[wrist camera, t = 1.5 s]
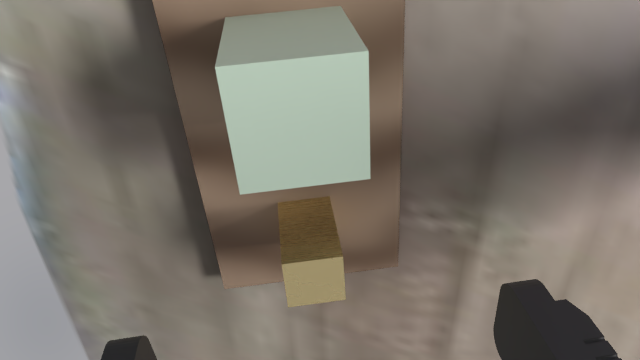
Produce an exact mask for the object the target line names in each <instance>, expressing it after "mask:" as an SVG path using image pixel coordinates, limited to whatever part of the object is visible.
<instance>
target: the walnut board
mask: <svg viewBox="0 0 640 360" xmlns="http://www.w3.org/2000/svg"><path fill="white" fill-rule="evenodd" d="M152 2H153V6H154V10H155V14H156V18H157V22H158V26H159V30H160V34H161V38H162V42H163V46H164V50H165V54H166V58H167V61H168V65H169V69H170V73H171V77H172V81H173V85H174V89H175V93H176V97H177V101H178V105H179V109H180V113H181V117H182V121H183V125H184V129H185V133H186V137H187V141H188V145H189V149H190V153H191V157H192V161H193V165H194V169H195V173H196V177H197V181H198V185H199V189H200V193H201V197H202V201H203V205H204V209H205V213H206V217H207V221H208V225H209V229H210V233H211V237H212V241H213V245H214V249H215V253H216V257H217V261H218V265H219V269H220V273H221V277H222V281H223V284H224V288H225V289H229V288H236V287H244V286H252V285H259V284H267V283H274V282H282V281H284V277H283V271H282V264H281V248H280V232H279V217H278V203H279V202H287V201H295V200H303V199H312V198H320V197H328V196H330V200H331V205H332V209H333V214H334V218H335V223H336V227H337V232H338V236H339V240H340V245H341V249H342V254H343V263H344V273H351V272H358V271H366V270H374V269H381V268H389V267H397V266H398V249H399V210H400V172H401V134H402V95H403V57H404V18H405V0H152ZM334 6H341V7H342V9H343V11H344V12H345V14H346V15H347V17H348V19H349V20H350V22H351V23H352V25H353V27H354V28H355V30H356V31H357V33H358V35H359V36H360V38H361V39H362V41H363V43H364V44H365V46H366V47H367V49H368V51H369V110H370V178H371V179H366V180H358V181H349V182H341V183H333V184H325V185H316V186H308V187H300V188H291V189H283V190H275V191H266V192H258V193H250V194H241V195H240V192H239V187H238V182H237V177H236V172H235V167H234V162H233V157H232V152H231V147H230V142H229V137H228V131H227V126H226V121H225V116H224V111H223V106H222V101H221V96H220V91H219V86H218V81H217V76H216V70H215V64H216V59H217V55H218V50H219V45H220V40H221V36H222V31H223V26H224V22H225V17H234V16H244V15H254V14H264V13H274V12H284V11H294V10H304V9H314V8H324V7H334Z"/></svg>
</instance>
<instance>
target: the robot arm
mask: <svg viewBox="0 0 640 360" xmlns="http://www.w3.org/2000/svg"><path fill="white" fill-rule="evenodd" d="M494 339H495V344H496V347H497V350H498V353H499V355H500V357H501V359H502V360H622V359H621V358H618V356H617V353H616V352H615V350H614V349H613V348H612V346H611V345H610V344H609V342H608V341H605V339H604V336H603V334H602V333H601V332H600V330H599V329H598V328H597V327H596V325H595V324H594V323H593V321H592V320H591V319H590V317H589V316H588V315H587V314H585V313H584V312H582V311H581V310H580V309H578V308H577V307H576V306H574V305H573V304H572V303H570V302H569V301H567V300H566V299H564V300H558V301H555V300H554V299H553V297H552V296H551V295H550V293H549V292H548V290H547V289H546V288H545V286H544V285H543V284H542V283H541V282H540V281H539V280H537V279H533V280H526V281H519V282H513V283H506V284H503V285H502V286H501V289H500V294H499V300H498V305H497V311H496V317H495V322H494ZM101 360H157V358H156V356H155V354H154V351H153V349H152V346H151V344H150V342H149V340H148V338H147V337H146V336H138V337H131V338H124V339H117V340H111V341H109V342H108V343H107V344H106V346H105V349H104V352H103V355H102V358H101Z"/></svg>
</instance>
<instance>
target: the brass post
mask: <svg viewBox="0 0 640 360" xmlns="http://www.w3.org/2000/svg"><path fill="white" fill-rule="evenodd" d="M278 217H279V232H280V248H281V264H282V271H283V277H284V284H285V290H286V297H287V303H288V307H295V306H302V305H310V304H317V303H324V302H332V301H339V300H346V298H345V280H344V263H343V254H342V249H341V245H340V240H339V236H338V232H337V227H336V223H335V218H334V214H333V209H332V205H331V200H330V196H328V197H320V198H312V199H303V200H295V201H287V202H279V203H278Z"/></svg>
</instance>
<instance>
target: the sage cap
mask: <svg viewBox="0 0 640 360" xmlns="http://www.w3.org/2000/svg"><path fill="white" fill-rule="evenodd" d="M215 70H216V76H217V81H218V86H219V91H220V96H221V101H222V106H223V111H224V116H225V121H226V126H227V131H228V137H229V142H230V147H231V152H232V157H233V162H234V167H235V172H236V177H237V182H238V187H239V192H240V195H241V194H250V193H258V192H266V191H275V190H283V189H291V188H300V187H308V186H316V185H325V184H333V183H341V182H349V181H358V180H366V179H371V178H370V110H369V51H368V49H367V47H366V46H365V44H364V43H363V41H362V39H361V38H360V36H359V35H358V33H357V31H356V30H355V28H354V27H353V25H352V23H351V22H350V20H349V19H348V17H347V15H346V14H345V12H344V11H343V9H342V7H341V6H334V7H324V8H314V9H304V10H294V11H284V12H274V13H264V14H254V15H244V16H234V17H225V22H224V26H223V31H222V36H221V40H220V45H219V50H218V55H217V59H216V64H215Z"/></svg>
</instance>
